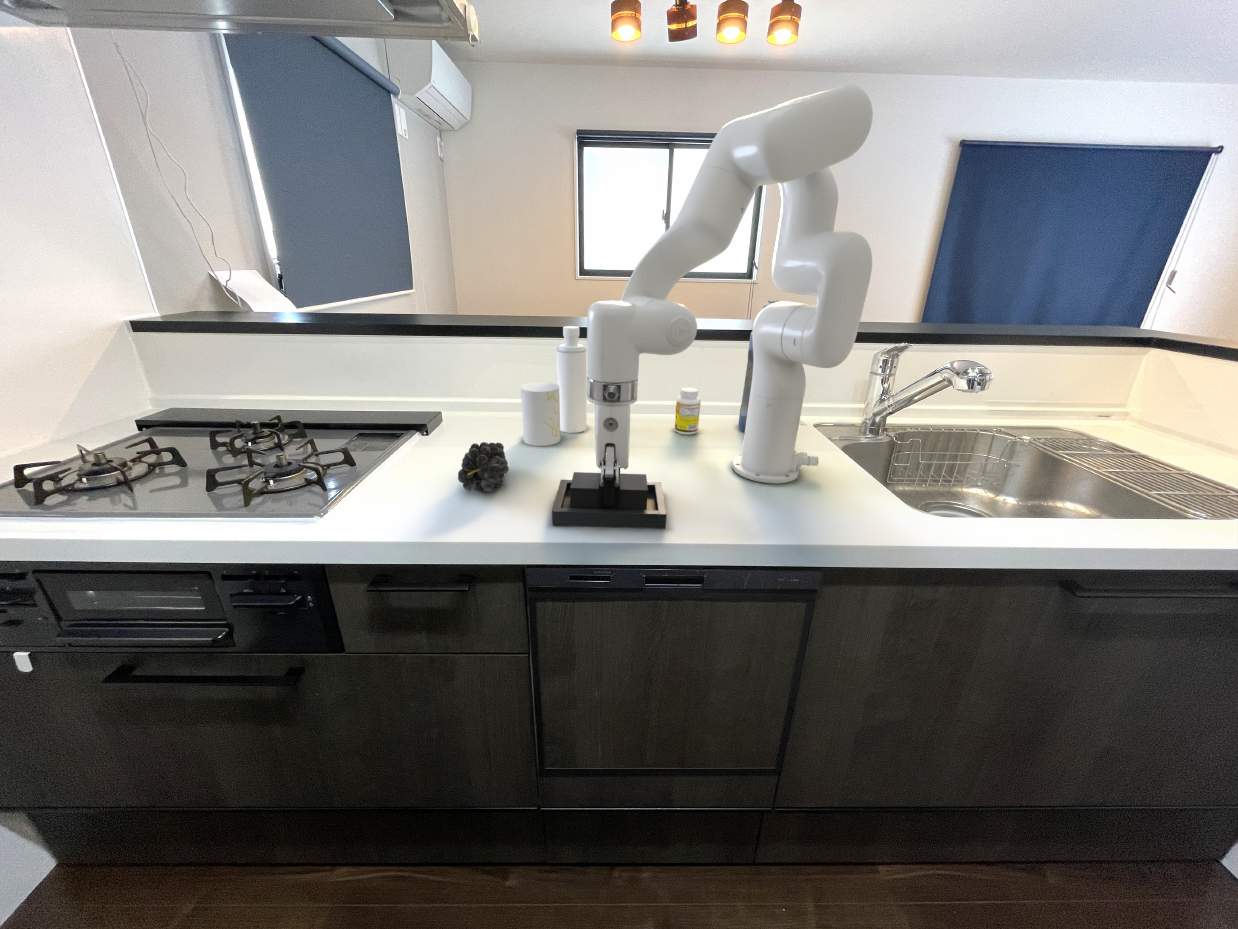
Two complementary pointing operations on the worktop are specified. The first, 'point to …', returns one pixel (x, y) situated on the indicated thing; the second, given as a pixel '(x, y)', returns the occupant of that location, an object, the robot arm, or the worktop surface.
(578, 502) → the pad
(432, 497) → the worktop surface
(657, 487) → the shallow rectangular tray
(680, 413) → the supplement bottle
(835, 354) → the robot arm
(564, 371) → the tall white capped bottle
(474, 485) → the fruit
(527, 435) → the cup
